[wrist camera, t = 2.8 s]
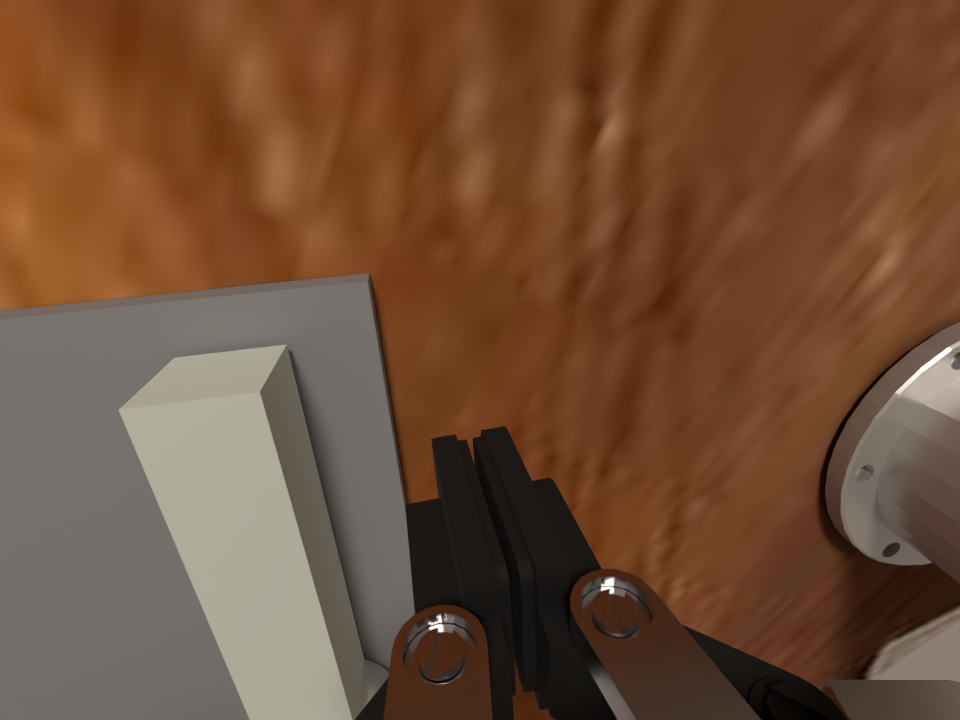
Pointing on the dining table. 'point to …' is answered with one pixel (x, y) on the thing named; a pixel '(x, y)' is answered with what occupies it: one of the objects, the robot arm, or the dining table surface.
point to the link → (254, 530)
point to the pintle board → (135, 511)
